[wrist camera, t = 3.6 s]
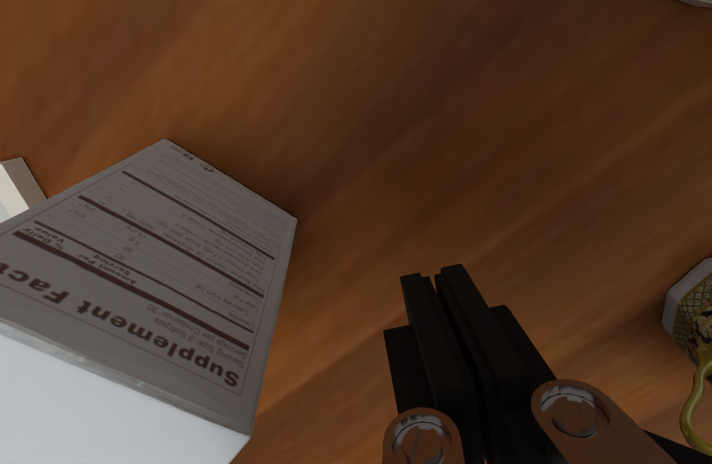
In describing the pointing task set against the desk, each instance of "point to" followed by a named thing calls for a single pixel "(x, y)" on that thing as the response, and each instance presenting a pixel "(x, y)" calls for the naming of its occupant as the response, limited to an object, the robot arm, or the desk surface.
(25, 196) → the strip
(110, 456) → the supplement box
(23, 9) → the desk surface
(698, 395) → the ceramic cup
